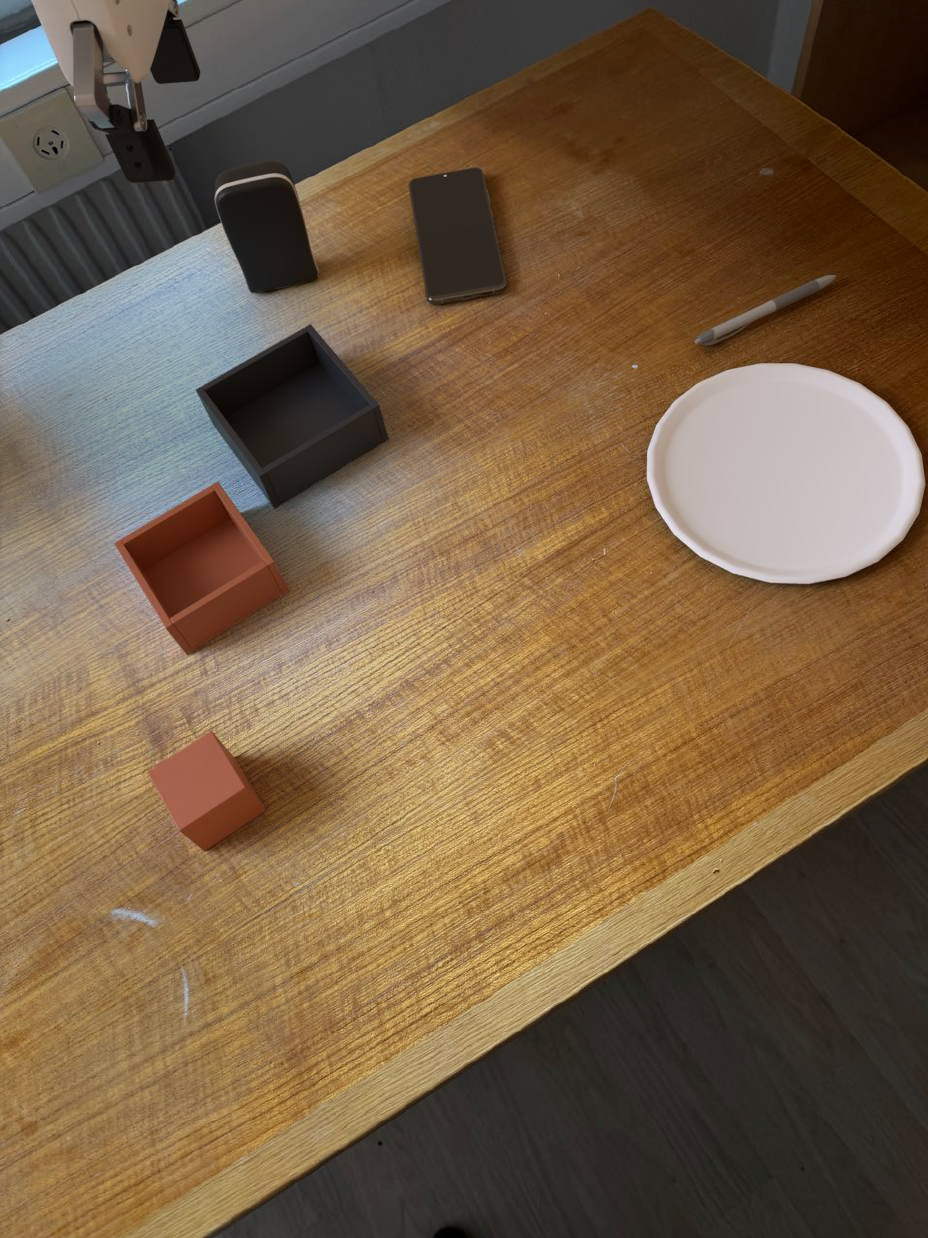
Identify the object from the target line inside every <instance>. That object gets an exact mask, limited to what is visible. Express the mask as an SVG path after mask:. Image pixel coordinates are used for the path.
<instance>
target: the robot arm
mask: <svg viewBox="0 0 928 1238" xmlns="http://www.w3.org/2000/svg"><path fill="white" fill-rule="evenodd" d="M30 1H31V3H32V6H33V8H34V10H35V13H36V16H37V18H38V21H39V24H40V26H41V27H42V30H43V32H44V34H45V36H46V39H47V41H48V43H49V45H50V48H51V50H52V52H53V55H54V57H55V60H56V61H57V63H58V66H59V68H60V70H61V72H62V74H63V76H64V77H65V79H66V81H67V82H68V83H69V85H70V86H71V87H72V89H73V101H74V104H75V107H76V108H77V109H78V111H80V113H82V115H84V117H85V118H86V119H87V121H88V123H89V124H90V125H91V127H92V128H93V129H94V130H97V131H98V133H99V134H100V135H101V136H102V135H103V136H105V138H106V140H107V142H108V144H109V146H110V148H111V150H112V153H113V155H114V157H115V159H116V161H117V163H118V165H119V167H120V169H121V171H122V173H123V176H124V177H125V179H126V181H128V182H129V183H132V184H133V183H134V184H135V183H136V184H138V183H151V182H152V183H153V182H167V181H172V180H174V178H175V175H176V168H175V165H174V164H173V161H172V159H171V156H170V154H169V152H168V150H167V147H166V145H165V141H164V139H163V138H162V135H161V132H160V131H159V128H158V126H157V124H156V121H155V119H152V118H151V119H149V118H148V117H147V111H146V110H147V109H146V105H145V99H144V98H145V97H144V92H143V91H144V90H143V85H142V81H143V80H144V79H145V78H146V77H147V75H148V74H149V72H150V74H151V75H152V78H153V80H154V82H155V83H157V84H159V85H165V84H166V85H167V84H179V83H192V82H197V81H199V79H200V77H201V69H200V66H199V64H198V63H199V62H198V60H197V58H196V56H195V53H194V50H193V46H192V44H191V41H190V39H189V36H188V33H187V30H186V27H185V25H184V21H183V20H182V18H179V17H180V6H179V2H178V0H30ZM174 18H175V19H174ZM177 18H179V19H177ZM104 63H116V64H117V65H118V66H119V67H120V68H121V69H125V70H124V71H113V72H104V70H105V69H104ZM121 86H125V90H126V96H127V101H128V102H127V103H128V107H127V106H123V105H122V104H119V103H112V102H111V99H110V97H109V94H108V88H109V87H121ZM107 87H108V88H107Z"/></svg>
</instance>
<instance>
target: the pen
mask: <svg viewBox="0 0 928 1238" xmlns="http://www.w3.org/2000/svg"><path fill="white" fill-rule="evenodd" d="M836 278H837V275H836V274H831V275H830V274H828V275H823V276H821V277H818V278H816V279H813V280H810V281H808V282H806V283H804V284H802V285H800V286H798V287H796V288H794V289H791V290H790V291H787V292H784V293H783V294H781V295H779V296H776V297H774V298H772V299H770V300H767V302H765V303H762V304H760V305H758V306H757V307H754V308H752V309H750V310H749V311H745V312H744V313H741V314H739V315H737V316H735V317H733V318H731V319H729V320H727V321H725V322H722V323H720V324H718V325H716V326H714V327H712V328H709V329H707V330H706V331H704V332H702V333H701V334H699V335H698V336H697V338H696V339H694V344H695V345H698V344H700V345H704V346H712V345H716V344H718V343H720V342H722V341H725V340H727V339H729V338H730V337H733V336H734V335H736V334H738V333H740V332H741V331H742V330H744V329H745V328H746V327H748V326H749V325H750V324H751V323H752V322H755V321H757V320H759V319H761V318H764V317H766V316H767V315H770V314H772V313H776V312H777V311H780V310H781V309H784V308H786V307H788V306H790V305H792V304H794V303H796V302H799V301H800V300H802V299H804V298H805V299H806V298H807V297H808V296H811V295H813V294H815V293H817V292H819V291H821V290H822V289H824V288H826V287H827V286H829V285H830V284H832V282H834V281H835V280H836ZM729 333H730V334H729ZM727 334H728V335H727Z"/></svg>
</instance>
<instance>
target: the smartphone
mask: <svg viewBox="0 0 928 1238" xmlns="http://www.w3.org/2000/svg"><path fill="white" fill-rule="evenodd" d="M408 193H409V199H410V204H411V211H412V218H413V223H414V229H415V235H416V241H417V248H418V253H419V260H420V261H419V262H420V267H421V272H422V278H423V279H422V280H423V285H424V291H425V297H426V301H427V302H428V303H429V304H430V305H433V306H438V305H443V304H449V303H456V302H459V301H466V300H471V299H477V298H483V297H487V296H488V297H489V296H493V295H498V294H502V293H504V292H505V291H506V290H507V287H508V283H507V278H506V274H505V269H504V268H505V267H504V263H503V260H502V254H501V249H500V245H499V240H498V236H497V231H496V226H495V222H494V214H493V210H492V207H491V200H490V195H489V190H488V188H487V183H486V179H485V173H484V171H483V169H482V168H480V167H478V166H473V167H467V168H463V169H462V168H461V169H457V170H456V169H455V170H451V171H446V172H440V173H435V174H430V175H429V174H428V175H424V176H418V177H414V178H412V179H410V181H408Z"/></svg>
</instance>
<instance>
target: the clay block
mask: <svg viewBox="0 0 928 1238" xmlns="http://www.w3.org/2000/svg"><path fill="white" fill-rule="evenodd" d="M147 776H148V777H149V779H150V780H151V783H152V784H153V786H154V788H155V790H156V791H157V794H158V795H159V797H160V798H161V801H162V803H163V804H164V806H165V808H166V810H167V811H168V813H169V815H170V817H171V819H172V820H173V822H174V824H175V826H176V828H177V830H178V832H180V833H181V834H183V835H184V836H185V837H186V838H187V839H189V840H190V841H191V842H192V843H193V844H194V845H196V846H197V847H198V848H200V850H202V851H203V852H205V851H208V849H211V848H212V847H213V846H215V845H216V844H218V843H219V842H221V841H223V840H224V839H225V838H226V837H228V836H230V835H231V834H233V833H234V832H236V831H238V829H240V828H242V827H243V826H245V825H246V824H247V823H249V822H251V821H253V820H254V819H256V818H257V817H258V816H259V815H261V814H263V813H264V812H266V810H267V809H266V807H265V805H264V804H263V802H262V801H261V799H260V797H259V795H258V794H257V793H256V790H255V789H254V788H253V786H252V785H251V783H250V781H249V779H248V778H247V776H246V774H245V772H244V771H243V769H242V768H241V766H240V764H239V762H238V761H237V760H236V758H235V756H234V755H233V754H232V752H231V751H230V750H229V749H228V748H227V747H226V746H225V745H224V743H223V742H222V741H221V740H220V738H218V736H217V735H216V734H215V732H213V730H210V731H209V732H207V733H206V734H204V735H202V736H201V737H199V738H198V739H196V740H195V741H193V742H191V743H190V744H189V745H187V746H185V747H183V748H182V749H181V750H179V751H177V752H176V753H175V754H173V755H171V756H170V757H168V758H167V759H164V761H162V762H160V763H159V764H157V765H156V766H154V767H153V768H151V769H149V770H148V771H147Z"/></svg>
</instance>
